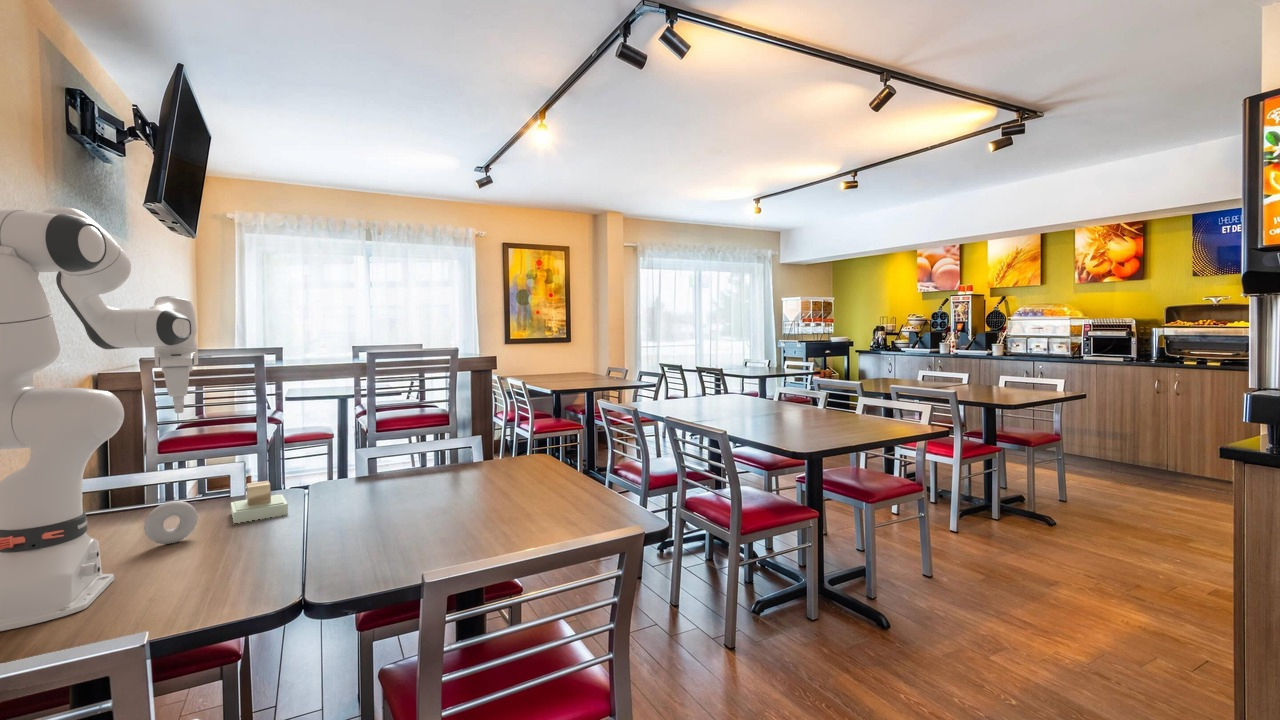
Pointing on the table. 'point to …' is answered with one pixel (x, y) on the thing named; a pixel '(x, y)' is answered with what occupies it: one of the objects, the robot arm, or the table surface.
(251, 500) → the maple cube
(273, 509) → the pedestal
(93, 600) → the robot arm
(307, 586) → the table surface
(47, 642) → the table surface
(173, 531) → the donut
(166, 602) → the table surface
